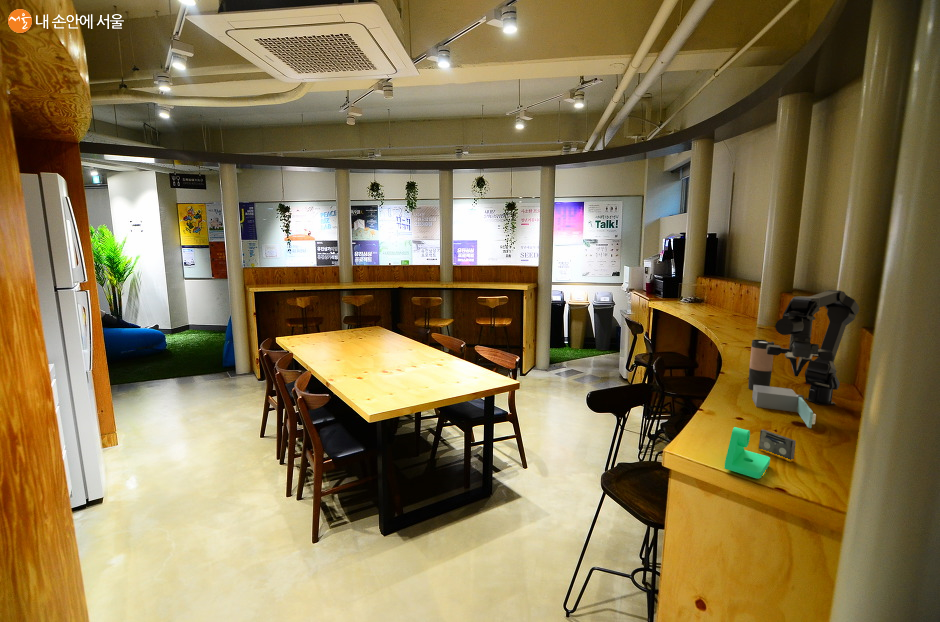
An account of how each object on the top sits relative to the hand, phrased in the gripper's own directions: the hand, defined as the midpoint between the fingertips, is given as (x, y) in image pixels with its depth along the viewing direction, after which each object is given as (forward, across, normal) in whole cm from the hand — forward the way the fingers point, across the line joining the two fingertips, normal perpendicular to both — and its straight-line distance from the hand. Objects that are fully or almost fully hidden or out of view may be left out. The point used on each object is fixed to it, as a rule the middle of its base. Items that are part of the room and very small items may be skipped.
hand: (796, 376), depth 155 cm
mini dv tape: (+12, -8, -47) cm, 50 cm away
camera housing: (+12, -4, +1) cm, 13 cm away
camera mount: (+12, -15, -60) cm, 63 cm away
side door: (+12, +2, -12) cm, 17 cm away
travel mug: (+12, -9, +20) cm, 25 cm away
